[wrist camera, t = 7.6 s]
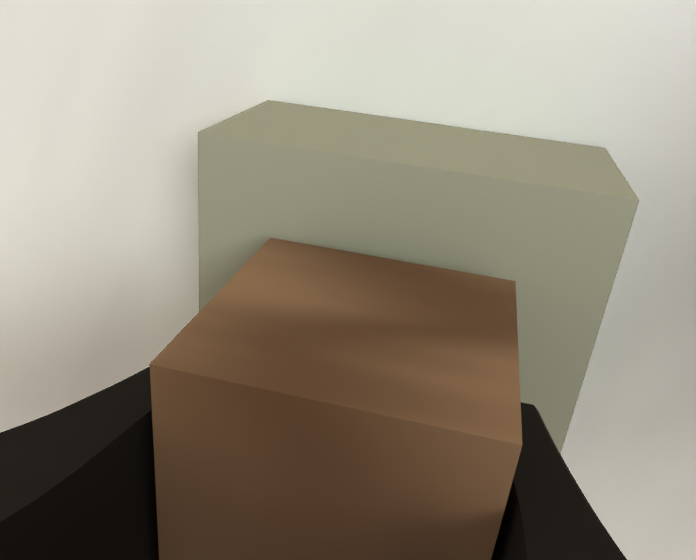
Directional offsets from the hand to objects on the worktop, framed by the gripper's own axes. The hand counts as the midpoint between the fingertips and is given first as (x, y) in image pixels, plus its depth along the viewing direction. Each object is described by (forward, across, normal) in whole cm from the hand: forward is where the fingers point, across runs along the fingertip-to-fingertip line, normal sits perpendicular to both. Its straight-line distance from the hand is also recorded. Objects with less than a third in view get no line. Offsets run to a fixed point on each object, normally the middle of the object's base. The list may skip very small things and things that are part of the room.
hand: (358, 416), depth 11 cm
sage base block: (+6, 0, 0) cm, 6 cm away
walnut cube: (+2, 0, 0) cm, 2 cm away
